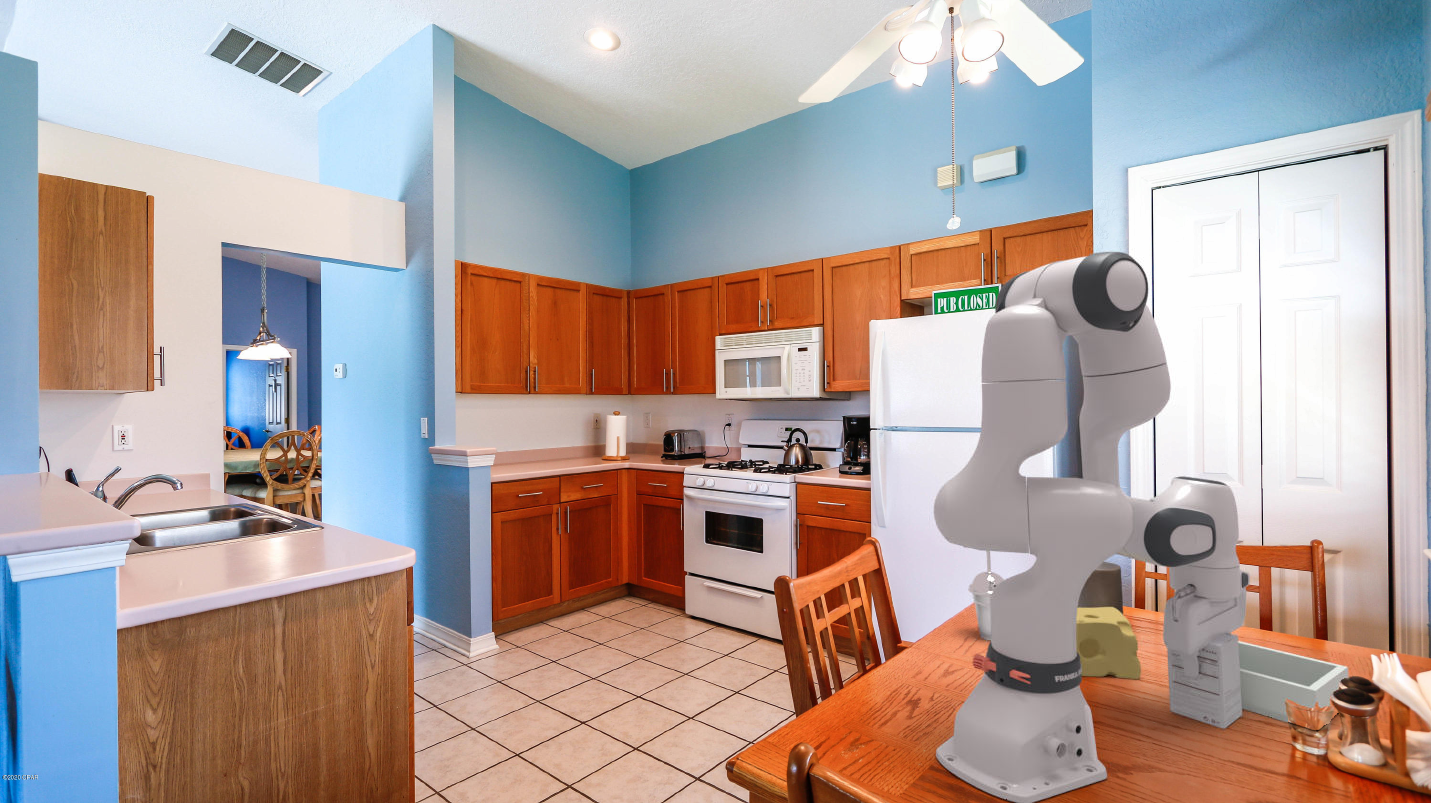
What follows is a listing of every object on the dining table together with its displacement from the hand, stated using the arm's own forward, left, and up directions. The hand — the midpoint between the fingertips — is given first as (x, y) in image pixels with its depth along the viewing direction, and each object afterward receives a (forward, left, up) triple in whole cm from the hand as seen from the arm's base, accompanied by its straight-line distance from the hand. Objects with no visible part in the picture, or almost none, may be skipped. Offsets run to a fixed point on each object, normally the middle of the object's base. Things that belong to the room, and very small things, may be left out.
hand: (1206, 666), depth 99 cm
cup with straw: (+3, +40, -8) cm, 41 cm away
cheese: (+5, +19, -8) cm, 21 cm away
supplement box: (0, 0, -8) cm, 8 cm away
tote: (+14, -4, -7) cm, 16 cm away
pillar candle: (+27, +30, -8) cm, 41 cm away
